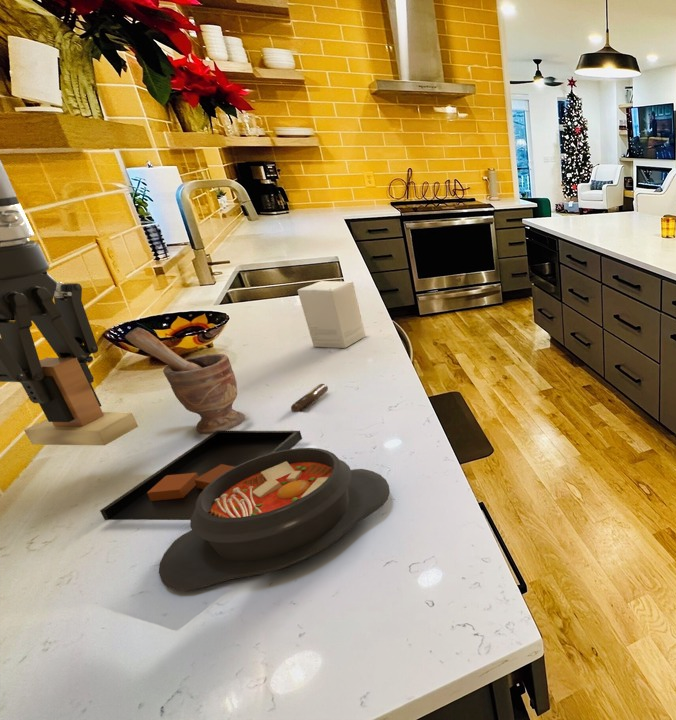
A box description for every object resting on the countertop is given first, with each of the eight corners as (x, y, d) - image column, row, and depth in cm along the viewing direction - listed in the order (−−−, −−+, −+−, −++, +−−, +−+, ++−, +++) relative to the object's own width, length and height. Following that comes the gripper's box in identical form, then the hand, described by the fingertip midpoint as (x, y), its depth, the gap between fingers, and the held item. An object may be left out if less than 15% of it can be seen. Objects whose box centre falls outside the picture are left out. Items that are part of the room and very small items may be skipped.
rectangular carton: (367, 336, 133) (354, 281, 127) (345, 348, 125) (331, 290, 119) (335, 334, 134) (321, 280, 128) (312, 347, 126) (295, 289, 120)
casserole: (170, 637, 52) (137, 577, 49) (160, 542, 64) (134, 489, 61) (412, 521, 68) (401, 470, 64) (367, 463, 80) (356, 418, 77)
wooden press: (31, 444, 68) (-11, 369, 64) (69, 425, 73) (32, 354, 68) (105, 445, 68) (68, 370, 64) (138, 426, 73) (106, 355, 68)
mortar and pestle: (166, 454, 82) (116, 341, 74) (169, 432, 89) (123, 326, 81) (252, 430, 89) (214, 325, 81) (249, 412, 95) (213, 312, 87)
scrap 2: (197, 488, 72) (193, 479, 72) (224, 472, 76) (221, 463, 75) (218, 492, 72) (215, 484, 71) (245, 476, 75) (242, 468, 74)
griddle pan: (108, 526, 67) (99, 510, 66) (292, 393, 103) (289, 381, 102) (212, 526, 67) (205, 510, 66) (360, 393, 103) (357, 381, 102)
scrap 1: (150, 501, 70) (146, 492, 69) (170, 483, 73) (166, 475, 73) (183, 498, 70) (179, 489, 70) (200, 480, 74) (197, 472, 73)
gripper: (-66, 257, 52) (39, 446, 62) (89, 232, 67) (154, 387, 77) (-138, 256, 52) (-22, 445, 62) (33, 231, 67) (105, 387, 77)
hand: (75, 413), depth 69 cm, fingers closed on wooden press, 3 cm apart
